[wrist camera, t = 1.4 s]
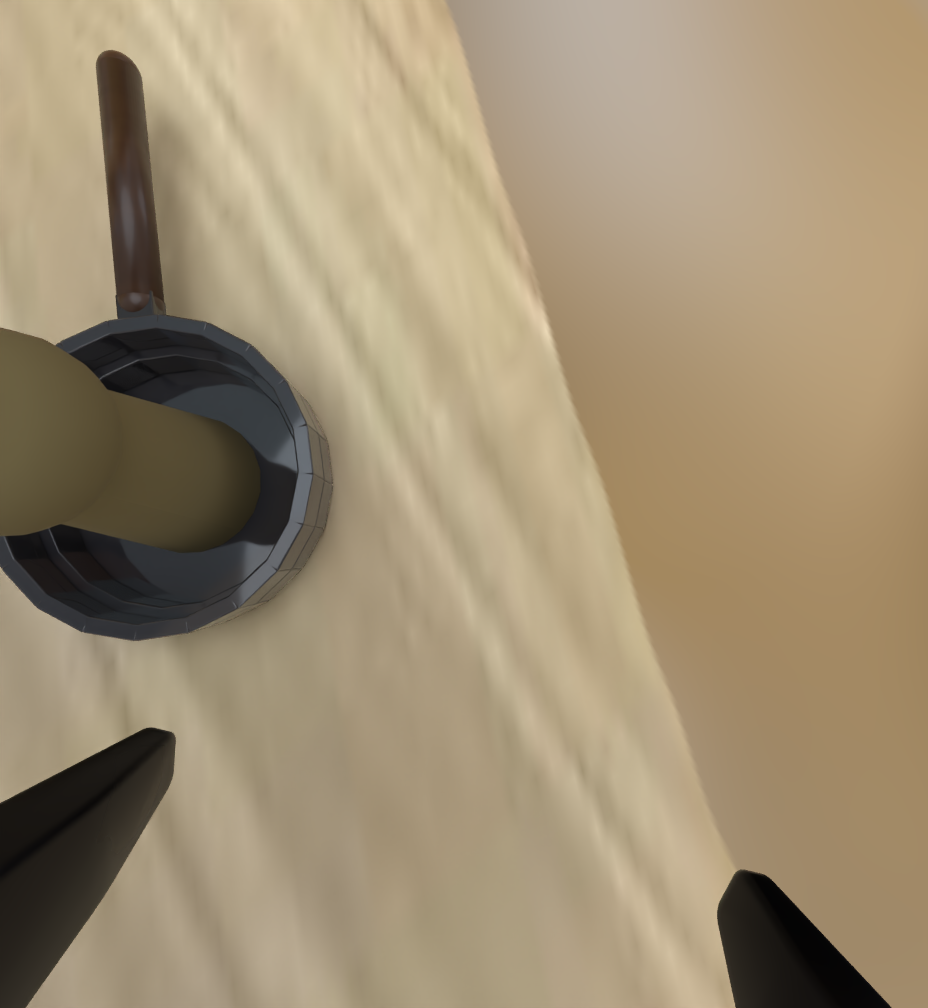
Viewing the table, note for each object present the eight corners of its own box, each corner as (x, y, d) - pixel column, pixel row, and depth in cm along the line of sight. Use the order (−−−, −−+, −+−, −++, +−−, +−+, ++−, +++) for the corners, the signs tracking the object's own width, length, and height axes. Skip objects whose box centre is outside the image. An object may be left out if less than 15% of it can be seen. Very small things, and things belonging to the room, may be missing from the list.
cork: (96, 457, 22) (-261, 362, 11) (221, 391, 22) (-3, 236, 11) (159, 579, 21) (-148, 607, 10) (285, 509, 22) (117, 466, 11)
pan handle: (175, 333, 21) (151, 314, 19) (135, 338, 21) (109, 320, 19) (149, 74, 22) (125, 37, 20) (111, 78, 22) (84, 41, 20)
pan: (350, 602, 22) (330, 611, 18) (64, 645, 21) (-11, 664, 18) (316, 334, 23) (291, 295, 19) (44, 370, 22) (-31, 337, 19)
